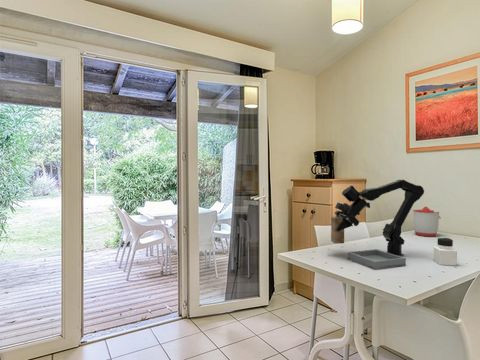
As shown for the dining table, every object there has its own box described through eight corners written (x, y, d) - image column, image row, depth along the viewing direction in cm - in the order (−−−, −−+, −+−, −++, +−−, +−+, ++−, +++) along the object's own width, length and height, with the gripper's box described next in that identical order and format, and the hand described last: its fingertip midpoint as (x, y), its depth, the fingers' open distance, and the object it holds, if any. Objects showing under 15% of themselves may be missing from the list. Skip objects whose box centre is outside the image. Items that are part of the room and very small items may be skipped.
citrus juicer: (446, 237, 204) (447, 207, 204) (420, 237, 205) (421, 207, 204) (432, 233, 220) (432, 205, 219) (408, 233, 220) (408, 205, 220)
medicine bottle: (456, 266, 142) (457, 240, 141) (439, 265, 143) (440, 239, 143) (449, 261, 149) (449, 237, 148) (433, 260, 150) (433, 236, 150)
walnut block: (340, 240, 162) (340, 216, 161) (344, 243, 157) (344, 218, 156) (331, 241, 162) (331, 216, 161) (334, 243, 157) (334, 218, 156)
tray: (376, 255, 159) (376, 249, 159) (405, 265, 142) (405, 258, 142) (347, 259, 153) (347, 252, 153) (374, 269, 136) (374, 261, 136)
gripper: (338, 195, 168) (318, 216, 168) (353, 198, 150) (331, 221, 149) (351, 210, 169) (332, 230, 169) (368, 214, 151) (346, 237, 150)
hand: (335, 229), depth 159 cm, fingers closed on walnut block, 5 cm apart
